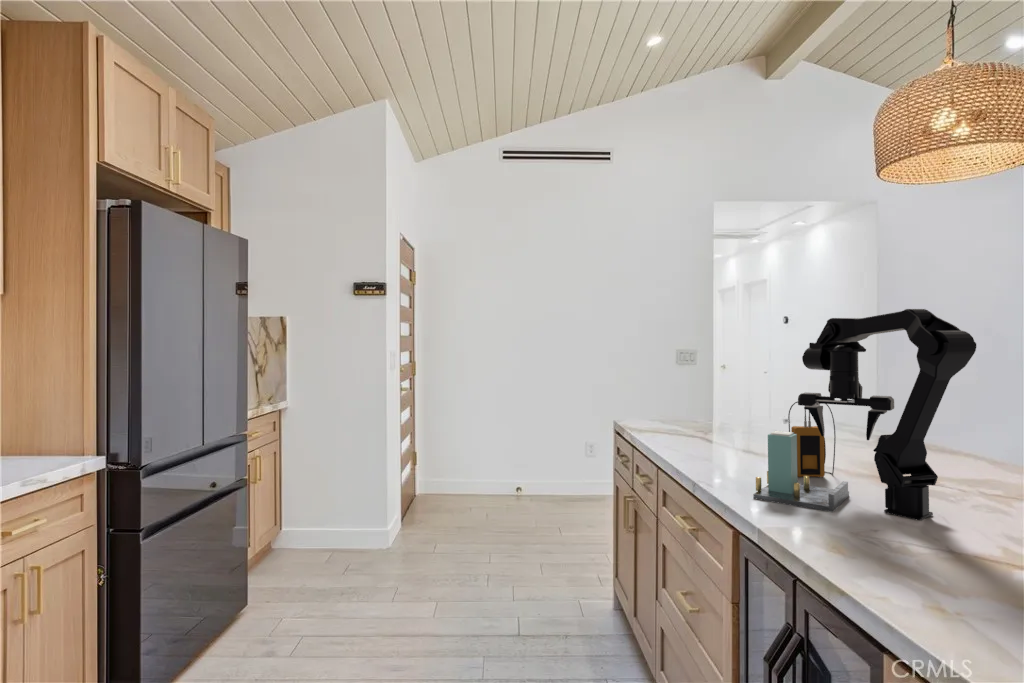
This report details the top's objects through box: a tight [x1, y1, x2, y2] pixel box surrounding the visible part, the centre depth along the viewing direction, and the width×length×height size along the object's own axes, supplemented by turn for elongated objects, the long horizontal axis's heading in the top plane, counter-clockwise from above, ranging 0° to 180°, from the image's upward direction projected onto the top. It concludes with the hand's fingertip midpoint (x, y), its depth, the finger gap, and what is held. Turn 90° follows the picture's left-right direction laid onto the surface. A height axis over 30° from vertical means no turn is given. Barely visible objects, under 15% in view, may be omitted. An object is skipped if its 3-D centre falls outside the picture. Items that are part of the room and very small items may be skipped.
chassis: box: [753, 470, 850, 513], centre depth 127 cm, size 17×16×4 cm
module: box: [767, 430, 798, 494], centre depth 129 cm, size 5×5×13 cm
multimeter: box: [787, 401, 836, 478], centre depth 150 cm, size 15×10×20 cm
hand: (845, 438), depth 129 cm, fingers open, 9 cm apart
